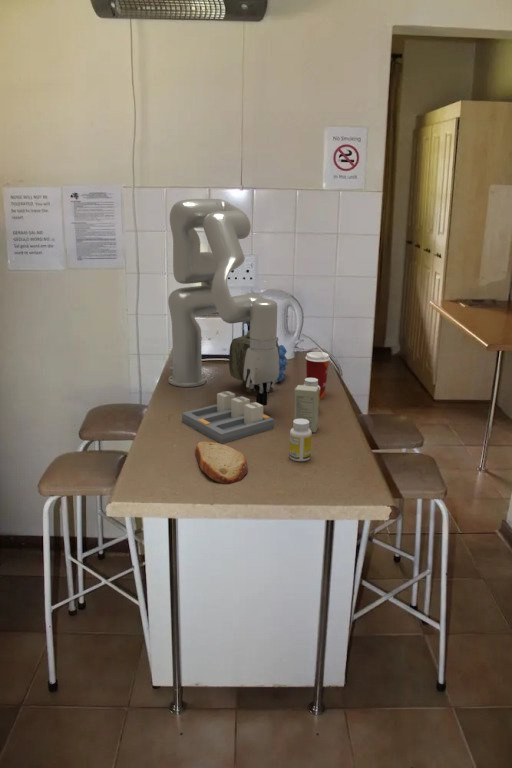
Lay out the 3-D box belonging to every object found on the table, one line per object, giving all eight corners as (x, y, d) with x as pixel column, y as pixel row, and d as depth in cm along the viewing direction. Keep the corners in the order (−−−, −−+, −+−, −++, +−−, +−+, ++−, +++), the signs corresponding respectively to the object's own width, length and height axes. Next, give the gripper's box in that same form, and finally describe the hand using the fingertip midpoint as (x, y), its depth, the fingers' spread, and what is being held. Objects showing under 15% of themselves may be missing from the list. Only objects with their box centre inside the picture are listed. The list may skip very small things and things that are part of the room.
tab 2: (244, 423, 185) (244, 403, 183) (255, 420, 187) (255, 401, 185) (251, 427, 182) (251, 407, 180) (262, 424, 185) (263, 404, 183)
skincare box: (318, 427, 186) (320, 386, 183) (315, 433, 183) (317, 391, 179) (295, 424, 188) (297, 383, 184) (292, 430, 184) (294, 388, 180)
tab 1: (231, 417, 189) (231, 397, 187) (242, 414, 191) (242, 395, 190) (238, 420, 187) (238, 401, 185) (249, 417, 189) (249, 398, 187)
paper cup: (332, 399, 209) (334, 356, 205) (310, 401, 206) (312, 358, 202) (320, 391, 216) (323, 349, 211) (299, 393, 213) (301, 351, 209)
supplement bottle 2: (307, 416, 194) (309, 383, 191) (296, 410, 199) (297, 378, 195) (322, 413, 197) (324, 380, 194) (311, 407, 202) (312, 375, 198)
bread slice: (202, 445, 174) (202, 432, 173) (265, 458, 167) (265, 445, 166) (166, 472, 158) (166, 458, 157) (234, 488, 152) (234, 473, 150)
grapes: (269, 374, 232) (270, 340, 229) (288, 375, 231) (290, 342, 228) (265, 384, 221) (265, 349, 218) (285, 385, 220) (286, 351, 217)
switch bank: (182, 421, 188) (182, 411, 187) (232, 408, 199) (233, 399, 198) (221, 443, 174) (221, 433, 173) (273, 428, 185) (274, 418, 184)
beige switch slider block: (216, 411, 193) (217, 392, 191) (228, 408, 196) (228, 389, 194) (223, 414, 191) (223, 395, 189) (234, 411, 193) (235, 393, 191)
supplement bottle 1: (309, 453, 170) (311, 417, 167) (311, 462, 165) (313, 425, 162) (288, 452, 170) (290, 417, 167) (289, 461, 165) (291, 425, 162)
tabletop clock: (278, 392, 214) (281, 316, 206) (262, 399, 208) (264, 321, 200) (243, 382, 223) (244, 309, 215) (226, 389, 216) (226, 314, 208)
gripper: (274, 336, 194) (272, 395, 200) (233, 344, 185) (233, 405, 191) (291, 342, 189) (289, 402, 195) (250, 350, 180) (249, 413, 186)
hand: (261, 404), depth 193 cm, fingers closed
